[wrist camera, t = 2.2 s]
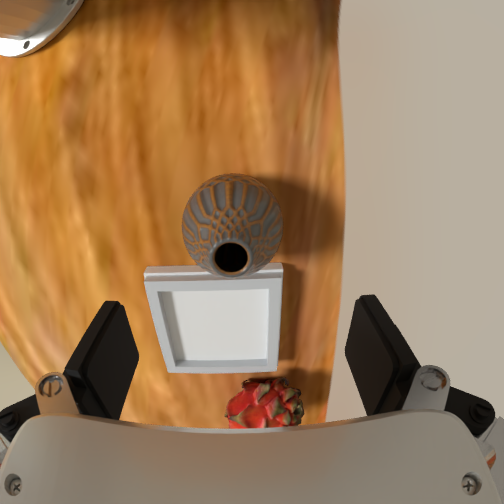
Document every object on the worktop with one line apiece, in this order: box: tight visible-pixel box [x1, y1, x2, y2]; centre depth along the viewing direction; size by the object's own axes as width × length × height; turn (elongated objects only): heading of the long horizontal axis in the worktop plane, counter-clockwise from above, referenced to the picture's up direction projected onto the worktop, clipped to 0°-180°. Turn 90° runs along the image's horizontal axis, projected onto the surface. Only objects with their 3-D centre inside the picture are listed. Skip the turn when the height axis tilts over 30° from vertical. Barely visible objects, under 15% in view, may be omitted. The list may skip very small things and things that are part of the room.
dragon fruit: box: [225, 377, 304, 429], centre depth 31 cm, size 8×8×12 cm
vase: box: [182, 173, 283, 279], centre depth 20 cm, size 7×7×9 cm
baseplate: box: [144, 262, 283, 373], centre depth 27 cm, size 12×12×2 cm
